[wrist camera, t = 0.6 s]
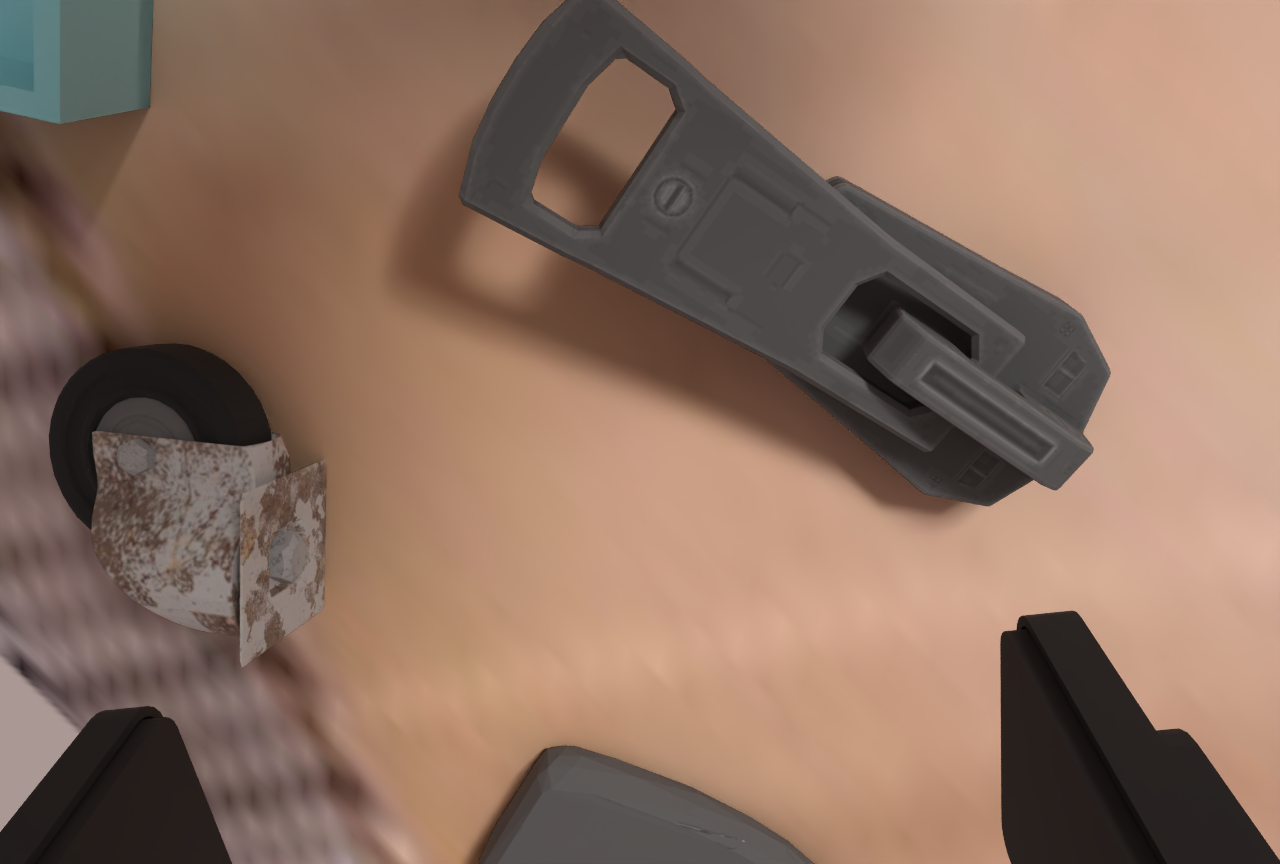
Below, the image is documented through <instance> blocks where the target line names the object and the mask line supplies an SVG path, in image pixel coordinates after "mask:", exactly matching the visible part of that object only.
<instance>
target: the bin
mask: <svg viewBox="0 0 1280 864" xmlns="http://www.w3.org/2000/svg"><path fill="white" fill-rule="evenodd" d="M152 25H153V0H0V111H4V112H8V113H12V114H17V115H21V116H26V117H30V118H35V119H39V120H43V121H48V122H52V123H57V124H64V123H69V122H74V121H80V120H85V119H90V118H96V117H101V116H106V115H112V114H117V113H122V112H128V111H133V110H138V109H144V108H149V107H150V84H151V54H152Z"/></svg>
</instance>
